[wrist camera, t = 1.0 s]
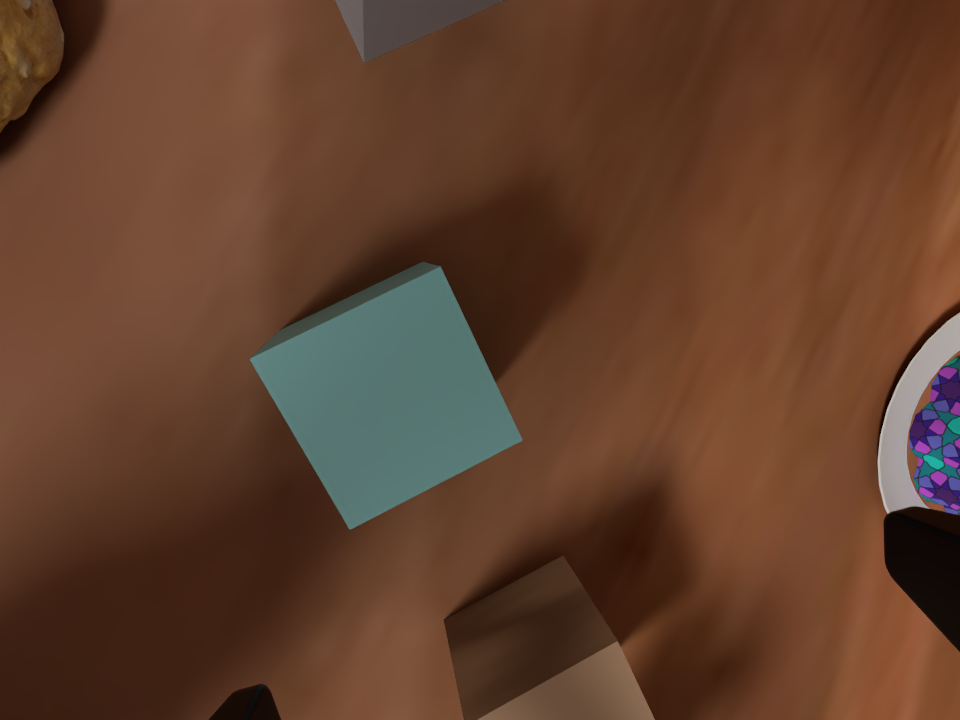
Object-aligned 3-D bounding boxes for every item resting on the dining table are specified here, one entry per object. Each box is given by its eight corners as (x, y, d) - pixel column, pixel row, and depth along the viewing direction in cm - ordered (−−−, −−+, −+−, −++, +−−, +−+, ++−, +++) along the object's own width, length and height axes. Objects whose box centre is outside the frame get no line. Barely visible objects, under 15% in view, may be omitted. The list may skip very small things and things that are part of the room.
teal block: (354, 460, 20) (349, 529, 15) (280, 329, 18) (249, 358, 14) (486, 393, 20) (522, 440, 15) (422, 261, 19) (440, 266, 14)
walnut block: (498, 716, 23) (533, 842, 18) (443, 618, 21) (465, 726, 17) (610, 653, 23) (674, 760, 18) (562, 553, 22) (617, 640, 17)
